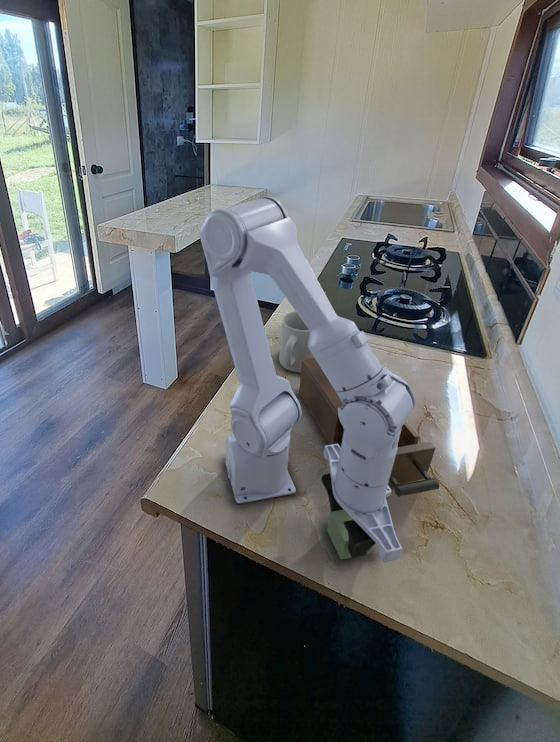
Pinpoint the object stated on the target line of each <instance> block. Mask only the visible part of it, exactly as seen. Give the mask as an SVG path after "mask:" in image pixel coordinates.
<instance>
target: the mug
mask: <svg viewBox="0 0 560 742" xmlns="http://www.w3.org/2000/svg"><path fill="white" fill-rule="evenodd" d="M309 335H310V330H309V328H308V327H307V326H306V324H305V323H304V322H303V320H302V319H301V317H300V316H299V315H298V313H297V312H294V311H292V312H287V313H286V314H285V315H283V317H282V320H281V329H280V346H279V356H278V358H279V363H280V365H281V366H282V367H283V368H284V369H286V370H288V371H290V372H293V373H298V374H301V367H302V359H307V358H314V356H313V354H312V352H311V351H310V349H309V348H308V340H309Z"/></svg>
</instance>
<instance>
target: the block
mask: <svg viewBox="0 0 560 742" xmlns="http://www.w3.org/2000/svg"><path fill="white" fill-rule="evenodd" d="M349 520H354V519H353V518H352V517H351V516H350V515H349V514H348V513H347V512H346V511H345V510H344V509H343V510H338V511H333V512H331V511H330V512H329V516H328V521H327V526H326V527H327V528H326V531H327V533H328V536H329V538H330V540H331V542H332V544H333V545H334V549H335V551H336V552H337V555H338V557H339V559H340V561H343V560H347V559H351V558H353V557H351V555H350V553H349V549H348V542H349V536H348V531H347V529H346V527H345V525H344V521H349ZM370 551H371V548H370V549H369V551H368V552H367V553H366V554H365V555H364V556H366V555H369V554H370ZM357 557H358V556H356V557H355V558H357Z"/></svg>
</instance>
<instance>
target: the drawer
mask: <svg viewBox="0 0 560 742" xmlns="http://www.w3.org/2000/svg"><path fill="white" fill-rule="evenodd" d="M343 434H344V428H343V426H342V424H340V429H339V435H338V441H339V442H340V444H341V445H342V439H343ZM419 440H420V435H419V434H418V433H417V432H416V430H415V429H414V428H413V427H412V426H411V424H410V423H409V422H408V421H407V420H406V422H405V423H404V424H403V426H402V429H401V433H400V437H399V442H398V449H397V453H396V456H395V460H394V464H393V468H392V471H391V475H390V479H389V482H388V486H389V487H391V486H393V490H394V493H395V494H396V496H397V497H404V496H410V495H415V494H420V493H425V492H430V491H436V490H439V489H440V482H439V481H438V480H437V479H436V477H435V478H434V477H431V476H430V475H429V473H428V472H429V469H430V466H431V463H432V460H433V457H434V455H435V451H436V446H435V445H434V444H433V443H432V442H431V441H426V442H421V443H419V442H420V441H419Z"/></svg>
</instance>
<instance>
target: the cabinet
mask: <svg viewBox="0 0 560 742" xmlns="http://www.w3.org/2000/svg"><path fill="white" fill-rule="evenodd" d="M298 394H299V396H300V398H301V399H302V401H303V402H304V404H305V406H306V408H307V409H308V411H309V413H310V414H311V416H312V418H313V420H314V421H315V423H316V425H317V426H318V428H319V430H320V432H321V433H322V435H323V437H324V438H325V440H326V441H327V444H328V445H332V444H338V445H339V446H340V448H341V444H340V442H339V441H338V435H339V429H340V424H341V422H340V420H339V416H338V408H341V406H342V404H343V403H342V401H341V400H340V398H339V396H338V395H337V393H336V391H335V390H334V388H333V386H332V385H331V383H330V382H329V380H328V378H327V377H326V375H325V374H324V372H323V370H322V369H321V367H320V365H319V364H318V362H317V361H316V359H315V357H314V358H307V359H302V367H301V373H300V378H299V386H298Z"/></svg>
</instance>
